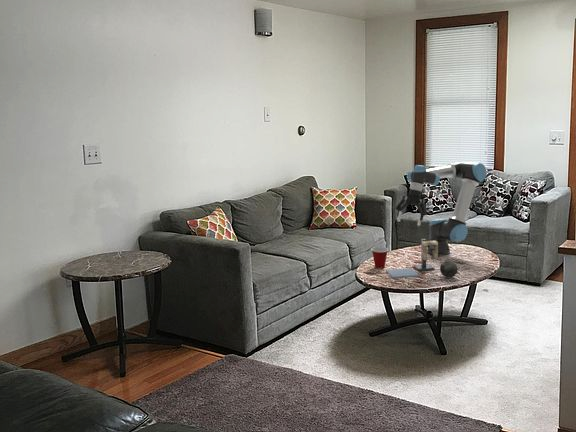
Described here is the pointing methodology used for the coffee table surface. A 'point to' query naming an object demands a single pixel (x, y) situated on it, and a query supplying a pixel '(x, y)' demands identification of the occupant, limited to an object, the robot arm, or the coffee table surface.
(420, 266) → the stand
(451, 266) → the decorative stone
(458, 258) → the coffee table surface
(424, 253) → the wooden u-bracket
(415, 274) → the mat
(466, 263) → the coffee table surface
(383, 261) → the plastic cup
